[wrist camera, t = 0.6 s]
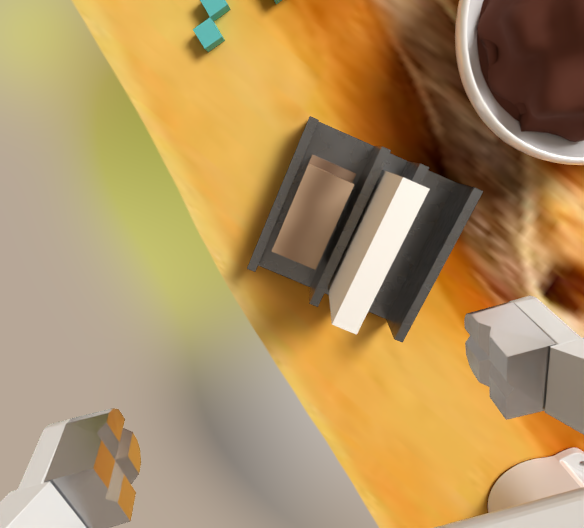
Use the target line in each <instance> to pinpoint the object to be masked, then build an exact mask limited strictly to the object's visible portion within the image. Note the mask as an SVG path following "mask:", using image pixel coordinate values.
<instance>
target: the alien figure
mask: <svg viewBox="0 0 584 528" xmlns="http://www.w3.org/2000/svg"><path fill="white" fill-rule="evenodd" d="M200 1H201V3H202V4H203V6H204V8H205V9H206V11H207V13H208V14H209V16H210V18H208V19H207V20H205V21H204V22H203V23H201V24H200V25H198V26H197V27H196V28H194V29H193V31H194V32H195V34H196V35H197V37H198V39H199V40H200V42H201V44H202V45H203V47H204V49H205V50H207V51H208V52H209V51H211V50H212V49H214V48H215V47H216V46H218V45H219V44H221V43H222V42H223V41H225V40H224V38H223V36H222V35H221V33H220V31H219V30H218V28H217V26H216V25H215V23H214V21H215V20H217V19H218V18H219V17H221V16H222V15H224V14H225V13H226V12H228V11H229V10H231V9H230V8H229V6H228V4H227V2H226V1H225V0H200ZM274 1H275V3H276V4H278V3H279V2H280V1H282V0H274Z"/></svg>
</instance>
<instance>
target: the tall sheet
mask: <svg viewBox="0 0 584 528" xmlns="http://www.w3.org/2000/svg"><path fill="white" fill-rule="evenodd" d="M429 190H430V189H429V188H427V187H424V186H422V185H420V184H417V183H415V182H413V181H411V180H408V179H406V178H404V177H401V176H398V175H396V174H393V173H390V172H387V171H385V170H382V171H381V173H380V175H379V177H378V180H377V182H376V184H375V186H374V188H373V190H372V192H371V195H370V197H369V199H368V201H367V203H366V205H365V207H364V209H363V212H362V214H361V216H360V218H359V220H358V222H357V224H356V227H355V229H354V231H353V233H352V235H351V237H350V239H349V241H348V244H347V246H346V248H345V250H344V252H343V254H342V256H341V259H340V261H339V263H338V265H337V267H336V269H335V271H334V273H333V276H332V278H331V280H330V282H329V284H328V291H329V301H330V310H331V320H332V325H335V326H337V327H340V328H342V329H344V330H347V331H349V332H352V333H354V334H356V335H357V333H358V331H359V329H360V327H361V325H362V323H363V321H364V319H365V317H366V315H367V313H368V311H369V309H370V307H371V305H372V303H373V301H374V299H375V297H376V295H377V293H378V291H379V289H380V287H381V285H382V283H383V281H384V279H385V277H386V275H387V273H388V271H389V269H390V267H391V265H392V263H393V261H394V259H395V257H396V255H397V253H398V251H399V249H400V247H401V245H402V243H403V241H404V239H405V237H406V235H407V233H408V231H409V229H410V227H411V225H412V223H413V221H414V219H415V217H416V215H417V213H418V211H419V209H420V207H421V205H422V203H423V201H424V199H425V197H426V195H427V194H428V192H429Z"/></svg>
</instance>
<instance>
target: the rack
mask: <svg viewBox="0 0 584 528" xmlns="http://www.w3.org/2000/svg"><path fill="white" fill-rule="evenodd" d="M318 121H319V120H317V119H315V118H313V117H311V116H310V117H309V120H308V122H307V124H306V127H305V129H304V132H303V134H302V136H301V139H300V141H299V144H298V146H297V149H296V151H295V153H294V156H293V158H292V161H291V163H290V166H289V168H288V170H287V173H286V175H285V178H284V180H283V182H282V185H281V187H280V190H279V192H278V195H277V197H276V199H275V202H274V204H273V207H272V209H271V212H270V214H269V216H268V219H267V221H266V224H265V226H264V228H263V231H262V233H261V236H260V238H259V241H258V243H257V245H256V248H255V250H254V253H253V255H252V258H251V260H250V262H249V265H248V267H247V269H249V270H252V271H254V272H255V271H256V269H257V267H258V265H259V266H261V267H263V268H266V269H268V270H271V271H273V272H275V273H278V274H280V275H283V276H285V277H287V278H290V279H292V280H294V281H297V282H299V283H302V284H304V285H306V286H309V287H310V297H309V304H312V305H314V306H316V307H318V305H319V303H320V301H321V299H322V297H323V295H324V293H325V294H328V295H329V291H328V284H329V282H330V280H331V278H332V276H333V273H334V271H335V269H336V267H337V265H338V263H339V261H340V259H341V256H342V254H343V252H344V250H345V248H346V246H347V244H348V241H349V239H350V237H351V235H352V233H353V231H354V229H355V227H356V224H357V222H358V220H359V218H360V216H361V214H362V212H363V209H364V207H365V205H366V203H367V201H368V199H369V197H370V195H371V192H372V190H373V188H374V186H375V184H376V182H377V180H378V177H379V175H380V173H381V171H382V170H385V171H387V172H390V173H393V174H396V175H398V176H401V177H404V178H406V179H408V180H411V181H413V182H415V183H417V184H420V185H422V186H424V187H427V188H429V189H430V190H429V192H428V194H427V195H426V197H425V199H424V201H423V203H422V205H421V207H420V209H419V211H418V213H417V215H416V217H415V219H414V221H413V223H412V225H411V227H410V229H409V231H408V233H407V235H406V237H405V239H404V241H403V243H402V245H401V247H400V249H399V251H398V253H397V255H396V257H395V259H394V261H393V263H392V265H391V267H390V269H389V271H388V273H387V275H386V277H385V279H384V281H383V283H382V285H381V287H380V289H379V291H378V293H377V295H376V297H375V299H374V301H373V303H372V305H371V307H370V309H369V311H368V312H371V313H373V314H375V315H378V316H380V317H383V318H385V319H386V321H387V323H388V325H389V328H390V330H391V332H392V335H393V337H394V339H395V340H398V341H400V342H403V340H404V339H405V337H406V335H407V333H408V331H409V329H410V327H411V325H412V324H413V322H414V320H415V318H416V316H417V314H418V312H419V311H420V309H421V307H422V305H423V303H424V301H425V299H426V297H427V296H428V294H429V292H430V290H431V288H432V286H433V284H434V282H435V281H436V279H437V277H438V275H439V273H440V271H441V269H442V268H443V266H444V264H445V262H446V260H447V258H448V256H449V254H450V253H451V251H452V249H453V247H454V245H455V243H456V241H457V239H458V238H459V236H460V234H461V232H462V230H463V228H464V226H465V225H466V223H467V221H468V219H469V217H470V215H471V213H472V211H473V210H474V208H475V206H476V204H477V202H478V200H479V198H480V196H481V195H482V193H483V191H481V190H479V189H477V188H475V187H471V186H467V185H463V184H459V183H456V182H454V181H451V180H449V179H447V178H445V177H442V176H440V175H438V174H436V173H433V172H431V171H429V170H428V169H429V167H427V166H425V165H423V164H420V163H415V162H409V161H406V160H404V159H402V158H400V157H397V156H395V155H393V154H390V152H391V150H389V149H387V148H384V147H382V146H372V145H370V144H368V143H366V142H363V141H361V140H359V139H357V138H354V137H352V136H350V135H348V134H345V133H343V132H341V131H339V130H336V129H334V128H332V127H330V126H327V125H325V124H323V123H321V122H318ZM312 154H313V155H315V156H317V157H320V158H322V159H324V160H326V161H329V162H331V163H333V164H336V165H338V166H340V167H342V168H345V169H347V170H349V171H352V172H354V173H355V174H356V176H355V178H354V180H353V182H352V183H353V184H354V187H353V189H352V191H351V193H350V195H349V198H348V200H347V202H346V204H345V206H344V209H343V211H342V213H341V215H340V217H339V220H338V222H337V224H336V226H335V228H334V230H333V233H332V235H331V237H330V239H329V241H328V244H327V246H326V248H325V250H324V252H323V255H322V257H321V259H320V261H319V263H318V266H317V268H316V270H315V269H312V268H310V267H307V266H305V265H303V264H300V263H298V262H296V261H293V260H291V259H289V258H286V257H284V256H281V255H279V254H277V253H274V252H272V249H273V246H274V244H275V241H276V239H277V236H278V234H279V232H280V229H281V227H282V225H283V222H284V220H285V218H286V215H287V213H288V210H289V208H290V206H291V203H292V201H293V199H294V196H295V194H296V192H297V189H298V187H299V184H300V182H301V180H302V177H303V175H304V173H305V170H306V168H307V166H308V163H309V161H310V159H311V156H312Z"/></svg>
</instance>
